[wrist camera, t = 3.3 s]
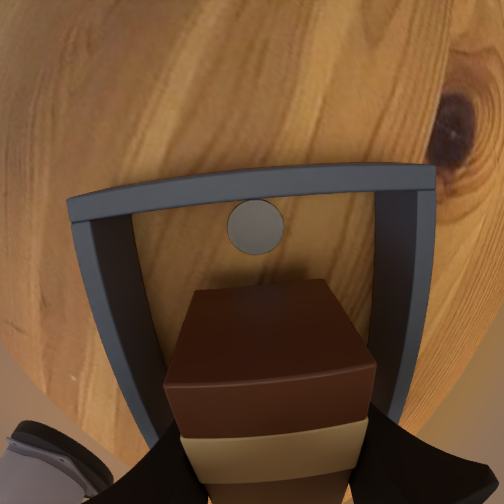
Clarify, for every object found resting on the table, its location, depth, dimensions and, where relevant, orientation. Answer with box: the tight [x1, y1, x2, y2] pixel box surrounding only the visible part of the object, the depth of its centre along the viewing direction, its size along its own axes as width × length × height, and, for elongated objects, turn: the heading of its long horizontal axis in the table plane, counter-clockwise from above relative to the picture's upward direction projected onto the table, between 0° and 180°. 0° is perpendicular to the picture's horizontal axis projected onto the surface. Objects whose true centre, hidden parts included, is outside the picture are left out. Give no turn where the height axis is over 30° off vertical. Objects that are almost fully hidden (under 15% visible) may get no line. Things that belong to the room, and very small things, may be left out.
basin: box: [67, 162, 436, 450], centre depth 12 cm, size 12×15×4 cm
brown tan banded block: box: [163, 279, 377, 504], centre depth 9 cm, size 5×9×5 cm, turn 5°
